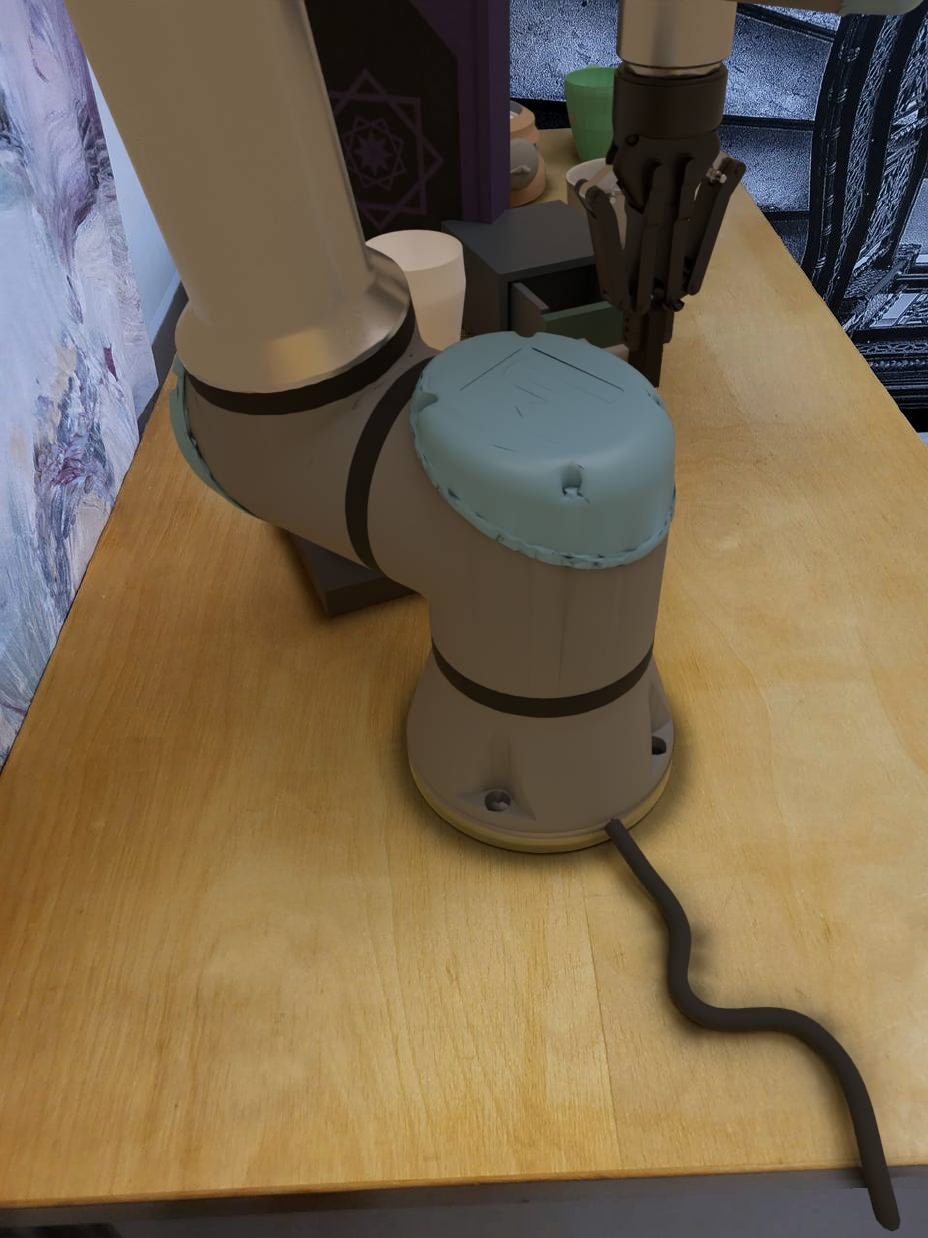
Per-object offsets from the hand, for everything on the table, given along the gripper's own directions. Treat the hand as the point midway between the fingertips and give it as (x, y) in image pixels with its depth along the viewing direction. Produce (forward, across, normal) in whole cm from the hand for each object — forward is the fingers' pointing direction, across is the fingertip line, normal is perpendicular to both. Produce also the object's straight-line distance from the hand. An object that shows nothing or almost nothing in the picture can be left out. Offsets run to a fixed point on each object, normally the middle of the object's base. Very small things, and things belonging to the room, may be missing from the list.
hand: (642, 381), depth 82 cm
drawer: (+3, 0, -10) cm, 10 cm away
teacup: (+4, -17, -36) cm, 40 cm away
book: (+5, +10, -35) cm, 36 cm away
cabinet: (+4, 0, -21) cm, 21 cm away
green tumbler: (+4, -29, -64) cm, 71 cm away
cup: (+4, +14, -15) cm, 21 cm away
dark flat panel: (+4, +26, +7) cm, 27 cm away
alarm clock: (+4, -8, -56) cm, 57 cm away
